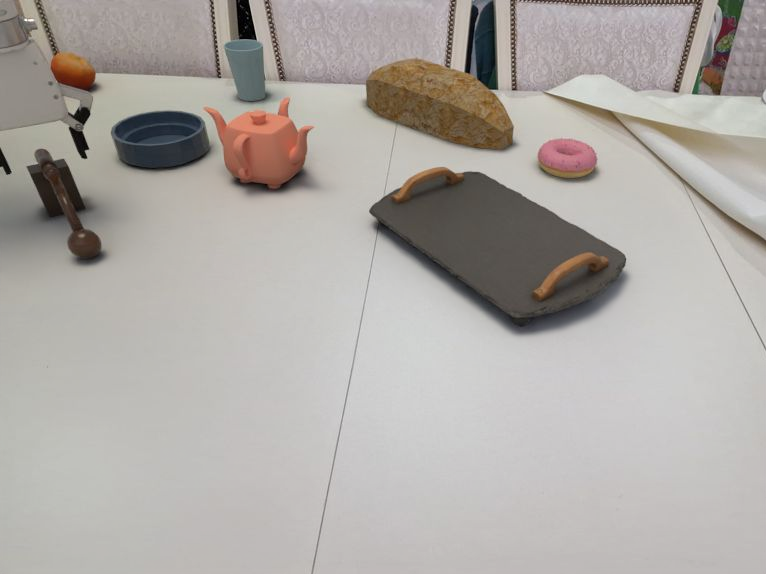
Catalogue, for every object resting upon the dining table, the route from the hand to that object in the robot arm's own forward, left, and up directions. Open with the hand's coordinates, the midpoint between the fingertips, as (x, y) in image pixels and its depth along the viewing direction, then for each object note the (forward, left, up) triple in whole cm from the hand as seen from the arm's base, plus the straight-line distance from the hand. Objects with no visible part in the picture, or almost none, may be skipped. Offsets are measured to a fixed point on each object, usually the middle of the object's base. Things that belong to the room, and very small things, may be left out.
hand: (46, 162), depth 88 cm
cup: (+29, +45, -8) cm, 54 cm away
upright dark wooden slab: (-1, +2, -8) cm, 9 cm away
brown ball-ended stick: (+2, -5, -8) cm, 10 cm away
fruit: (-6, +55, -8) cm, 56 cm away
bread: (+64, +25, -8) cm, 69 cm away
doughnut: (+83, 0, -8) cm, 83 cm away
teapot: (+31, +8, -8) cm, 33 cm away
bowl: (+13, +20, -8) cm, 25 cm away
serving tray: (+61, -23, -8) cm, 65 cm away
